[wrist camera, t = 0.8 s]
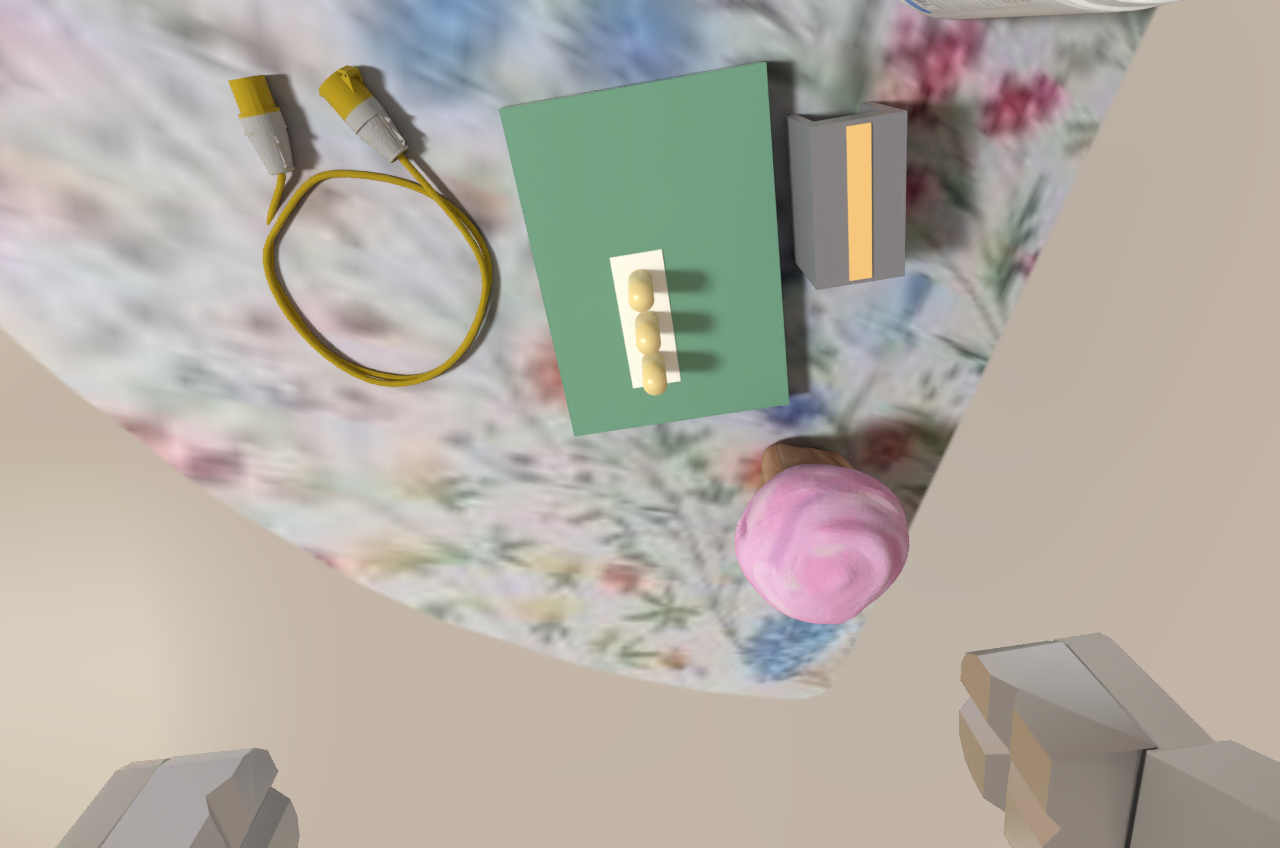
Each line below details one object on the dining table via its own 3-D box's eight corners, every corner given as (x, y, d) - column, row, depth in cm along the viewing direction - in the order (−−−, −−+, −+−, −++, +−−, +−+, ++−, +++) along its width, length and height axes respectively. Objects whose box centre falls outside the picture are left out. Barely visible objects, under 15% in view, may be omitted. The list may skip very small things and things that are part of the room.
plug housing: (785, 115, 34) (810, 127, 30) (870, 101, 34) (908, 111, 29) (793, 260, 37) (817, 290, 33) (871, 247, 37) (905, 276, 33)
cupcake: (886, 422, 42) (956, 523, 33) (845, 541, 46) (898, 660, 37) (736, 404, 41) (767, 503, 32) (708, 526, 45) (729, 644, 36)
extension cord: (509, 93, 34) (503, 96, 32) (483, 392, 41) (477, 408, 39) (239, 42, 33) (216, 42, 31) (262, 359, 40) (245, 374, 38)
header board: (504, 106, 34) (487, 115, 30) (760, 61, 33) (779, 64, 29) (576, 423, 42) (571, 464, 38) (783, 392, 41) (801, 430, 37)
